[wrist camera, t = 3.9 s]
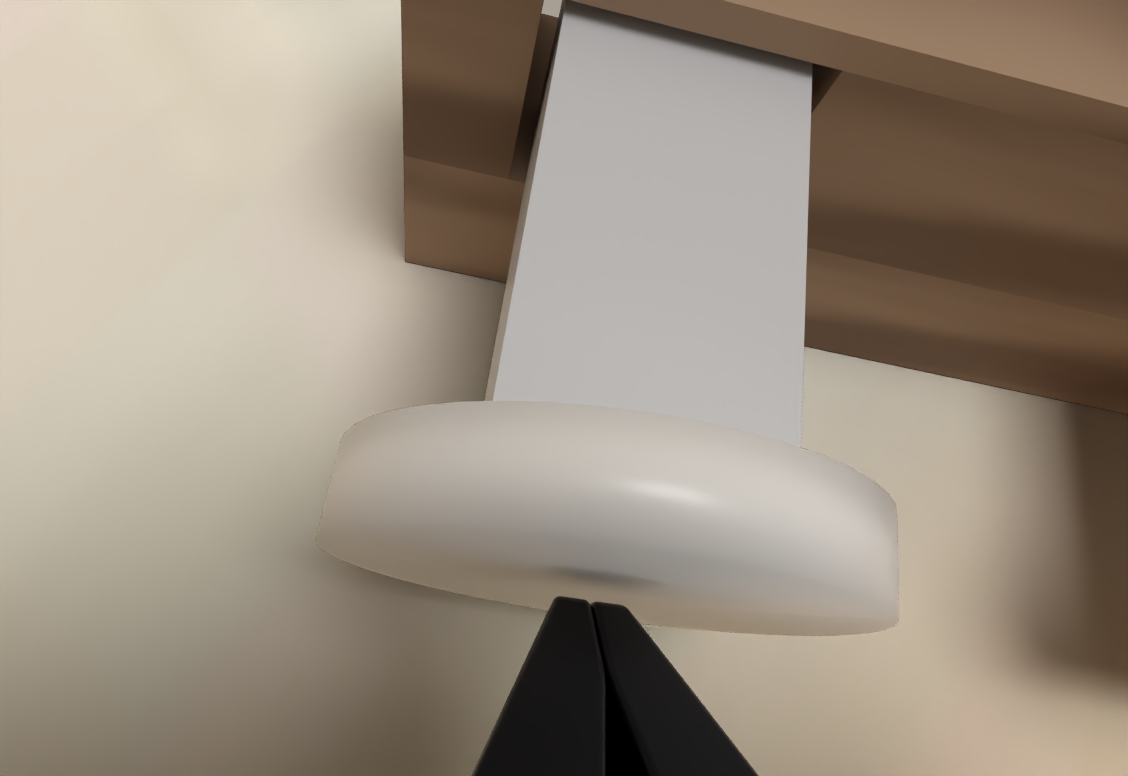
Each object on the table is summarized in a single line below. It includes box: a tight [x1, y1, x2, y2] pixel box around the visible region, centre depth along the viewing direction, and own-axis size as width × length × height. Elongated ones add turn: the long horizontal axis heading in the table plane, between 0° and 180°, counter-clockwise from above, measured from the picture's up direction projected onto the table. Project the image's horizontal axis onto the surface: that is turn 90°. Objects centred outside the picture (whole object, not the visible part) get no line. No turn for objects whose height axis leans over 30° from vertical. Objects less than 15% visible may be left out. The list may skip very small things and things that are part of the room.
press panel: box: [401, 0, 1128, 414], centre depth 16 cm, size 4×22×9 cm, turn 82°
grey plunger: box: [316, 0, 899, 636], centre depth 12 cm, size 9×7×7 cm
